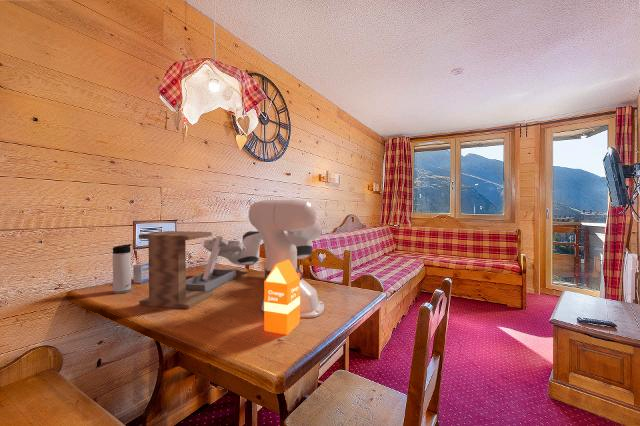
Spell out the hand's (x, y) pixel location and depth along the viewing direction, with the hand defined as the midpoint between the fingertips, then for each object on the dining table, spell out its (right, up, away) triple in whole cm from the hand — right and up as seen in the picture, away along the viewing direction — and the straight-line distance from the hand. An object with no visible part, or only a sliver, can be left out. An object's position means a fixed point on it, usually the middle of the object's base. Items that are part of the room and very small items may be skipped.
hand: (217, 239), depth 136 cm
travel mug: (-34, -21, -18) cm, 43 cm away
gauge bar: (0, -9, -2) cm, 9 cm away
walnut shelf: (-5, -21, -28) cm, 35 cm away
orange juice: (+39, -22, -51) cm, 68 cm away
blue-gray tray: (-1, -20, -6) cm, 21 cm away
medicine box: (-35, -20, -1) cm, 40 cm away
